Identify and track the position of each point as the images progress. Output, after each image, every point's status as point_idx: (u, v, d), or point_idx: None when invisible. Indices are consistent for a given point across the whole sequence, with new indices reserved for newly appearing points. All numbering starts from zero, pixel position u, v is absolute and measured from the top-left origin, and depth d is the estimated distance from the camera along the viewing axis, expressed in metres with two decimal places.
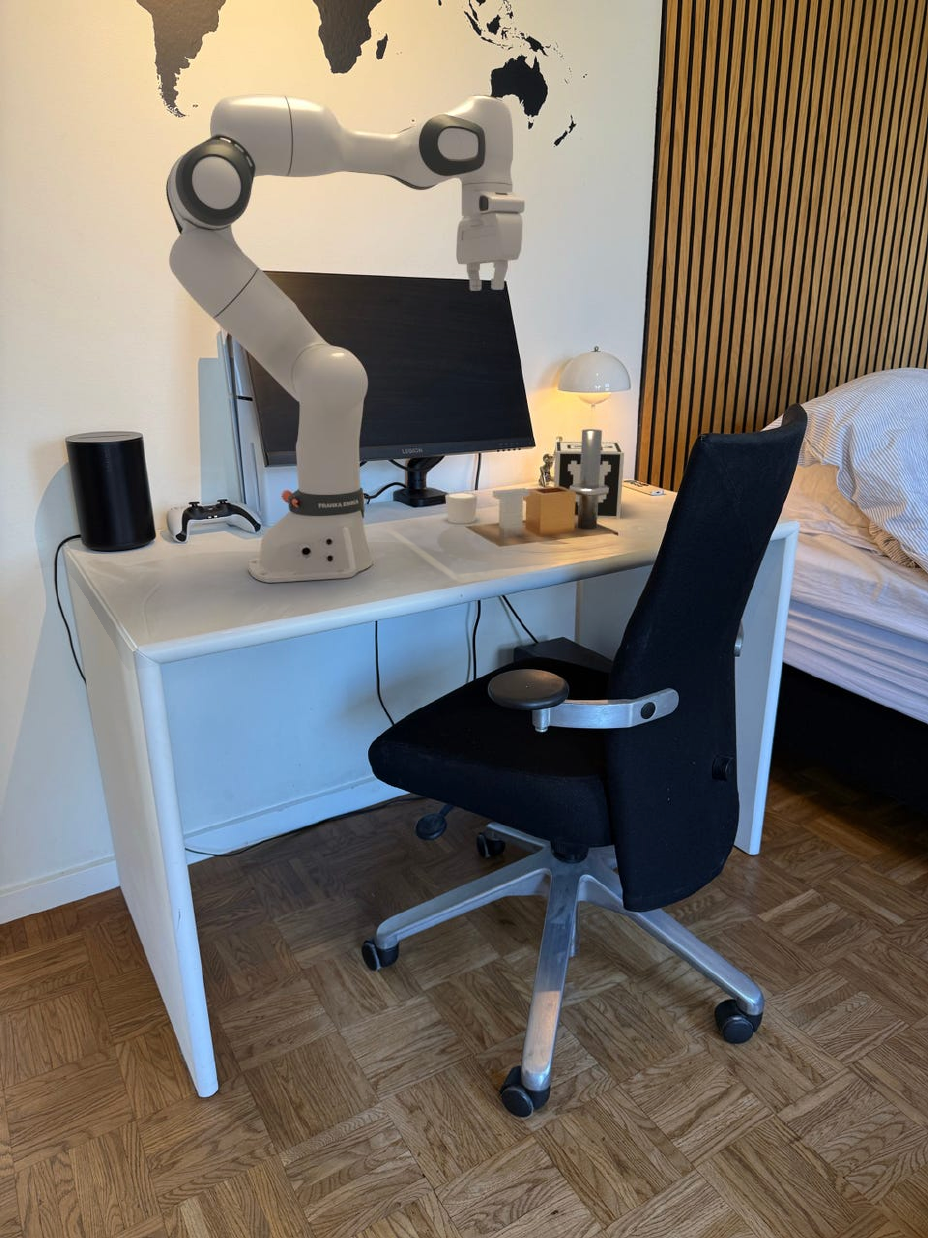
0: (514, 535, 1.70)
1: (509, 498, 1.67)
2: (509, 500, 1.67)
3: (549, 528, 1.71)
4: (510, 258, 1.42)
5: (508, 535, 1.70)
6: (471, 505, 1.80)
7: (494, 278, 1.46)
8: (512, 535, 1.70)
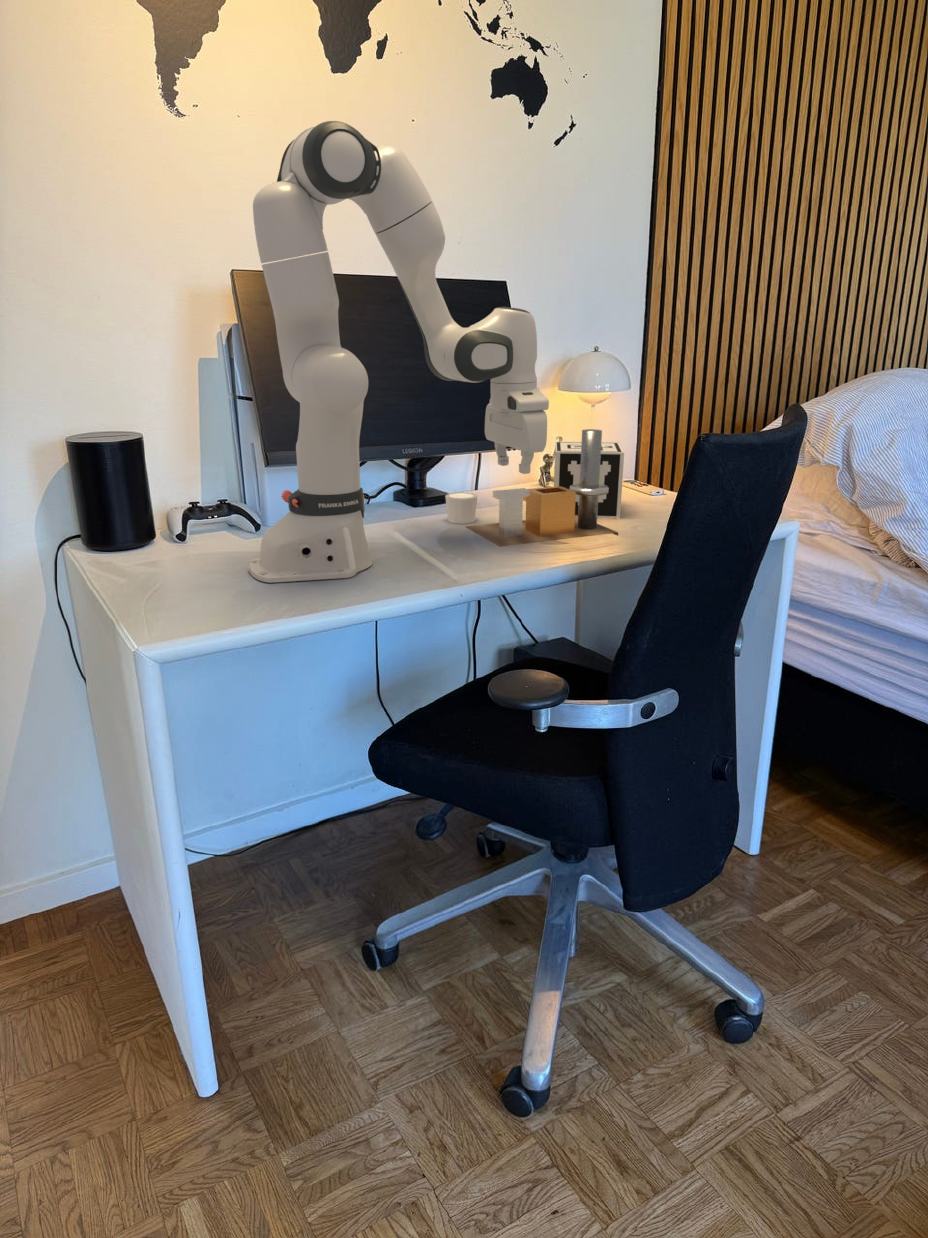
0: (514, 535, 1.70)
1: (509, 498, 1.67)
2: (509, 500, 1.67)
3: (549, 528, 1.71)
4: (536, 451, 1.57)
5: (508, 535, 1.70)
6: (471, 505, 1.80)
7: (521, 464, 1.61)
8: (512, 535, 1.70)
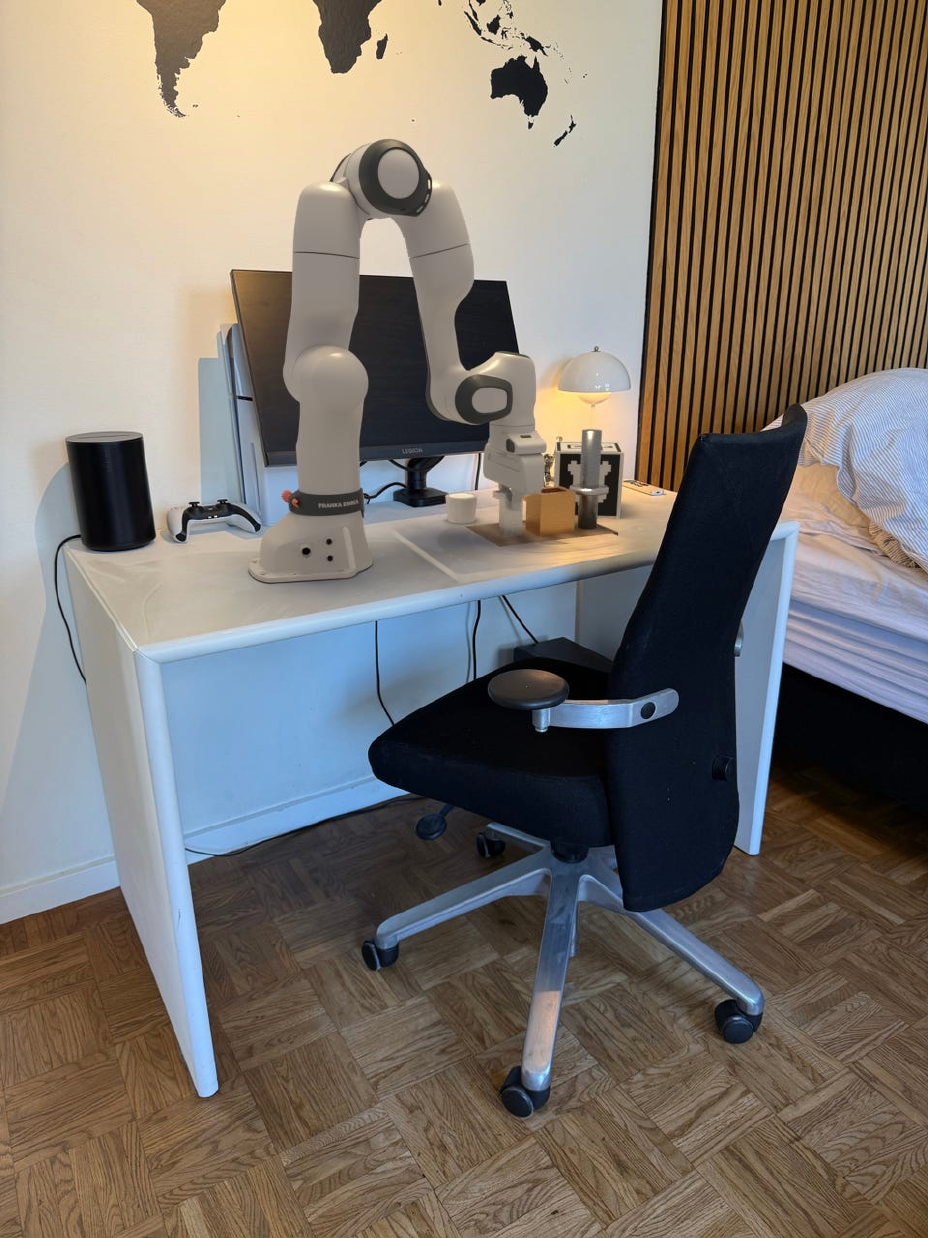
0: (514, 535, 1.70)
1: (509, 498, 1.67)
2: (509, 500, 1.67)
3: (549, 528, 1.71)
4: (533, 493, 1.59)
5: (508, 535, 1.70)
6: (471, 505, 1.80)
7: (512, 502, 1.66)
8: (512, 535, 1.70)
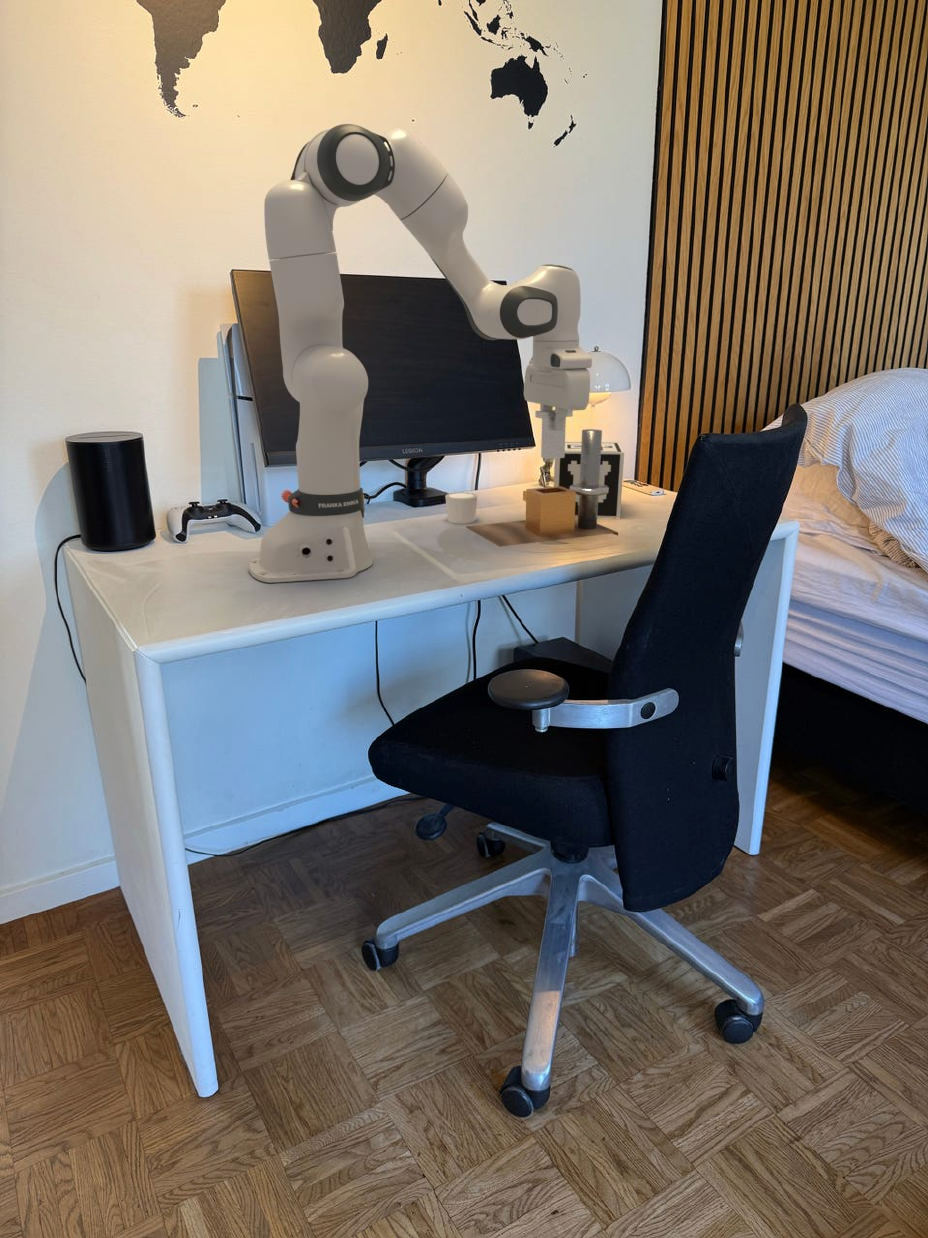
0: (557, 456, 1.68)
1: (552, 417, 1.65)
2: (553, 420, 1.65)
3: (549, 528, 1.71)
4: (579, 409, 1.57)
5: (551, 456, 1.68)
6: (471, 505, 1.80)
7: (555, 421, 1.64)
8: (555, 456, 1.68)
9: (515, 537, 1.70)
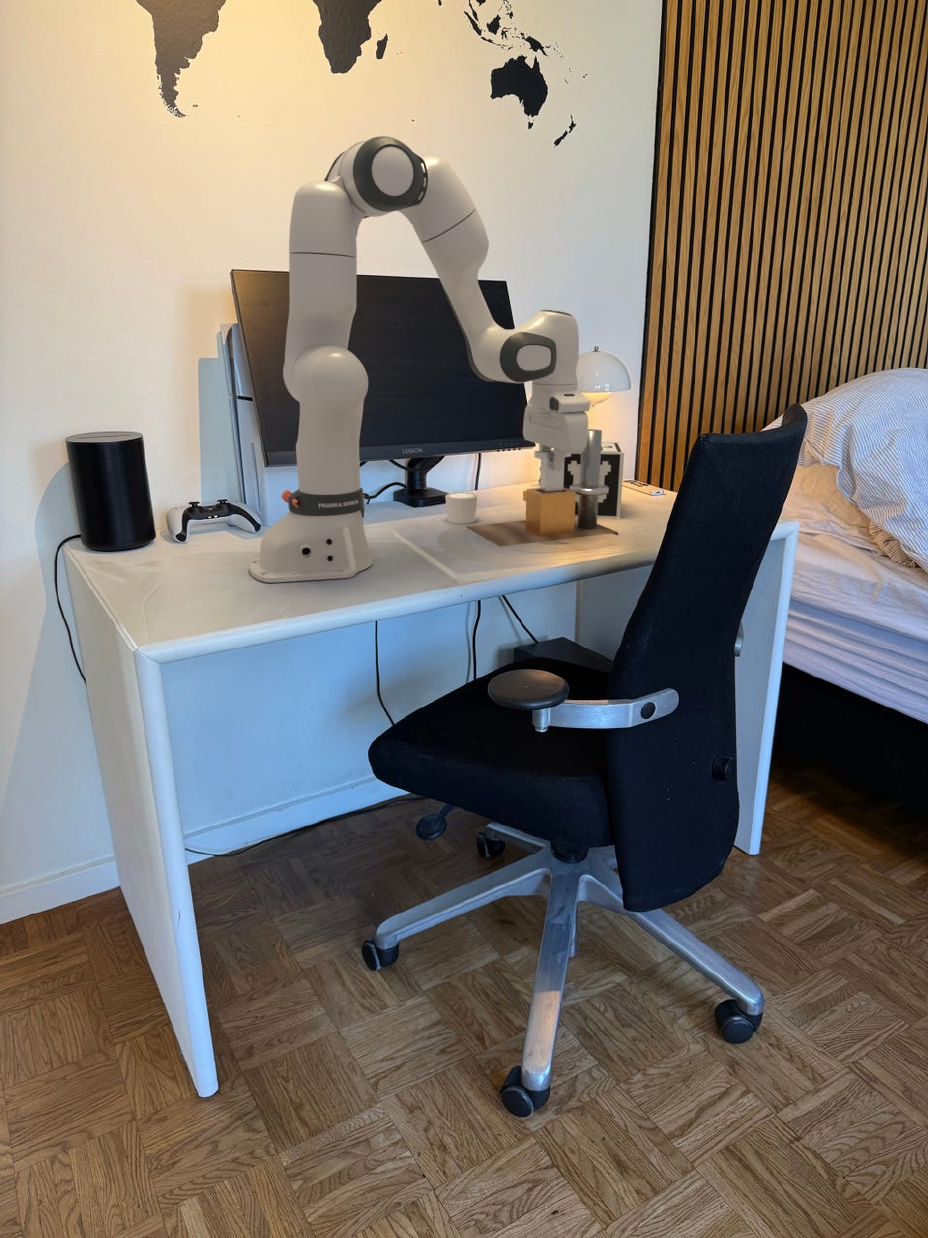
0: None
1: (551, 457, 1.68)
2: (551, 460, 1.68)
3: (549, 528, 1.71)
4: (577, 451, 1.60)
5: None
6: (471, 505, 1.80)
7: (554, 462, 1.67)
8: None
9: (515, 537, 1.70)
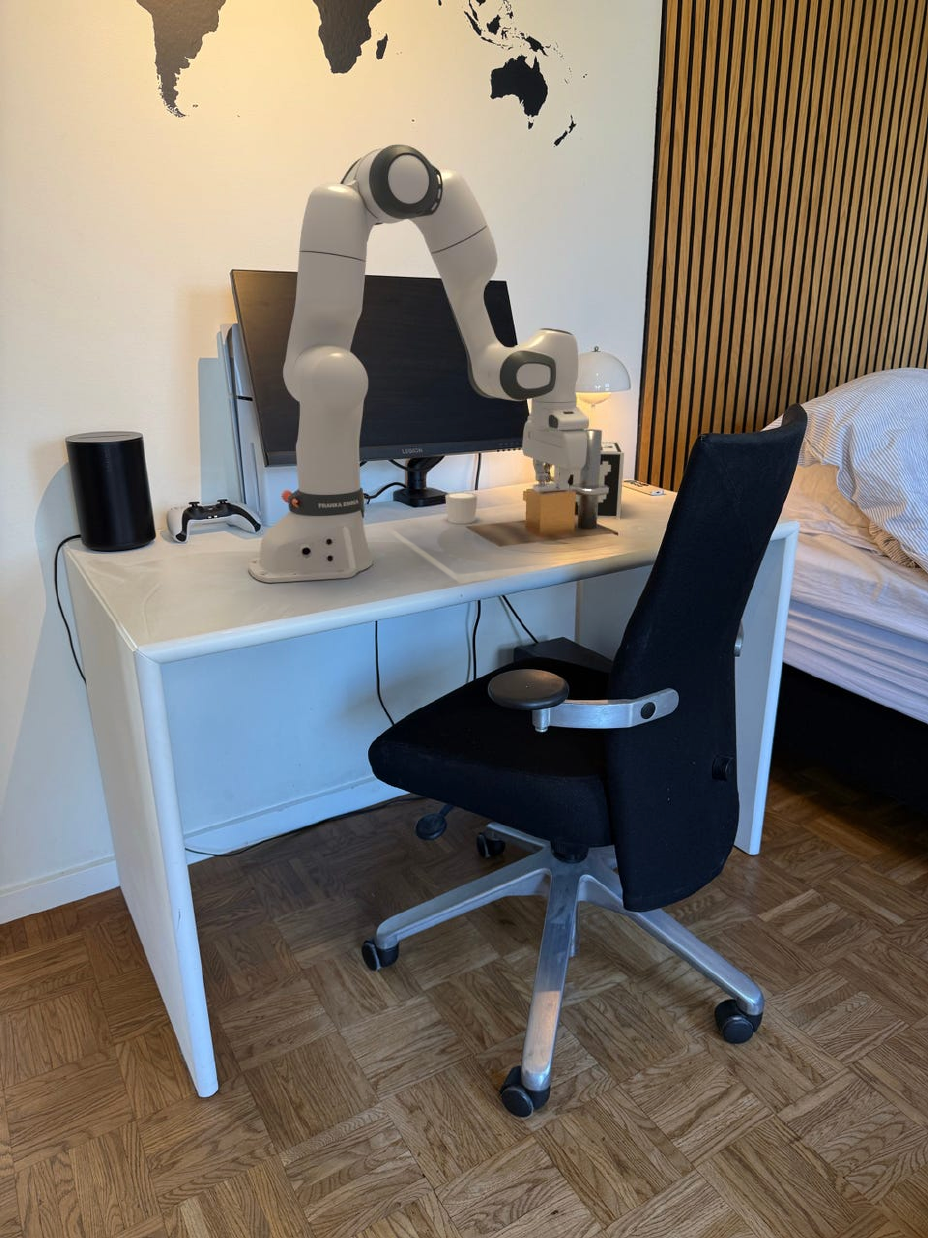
0: None
1: (549, 491, 1.70)
2: None
3: (549, 528, 1.71)
4: (576, 469, 1.61)
5: None
6: (471, 505, 1.80)
7: (559, 481, 1.66)
8: None
9: (515, 537, 1.70)
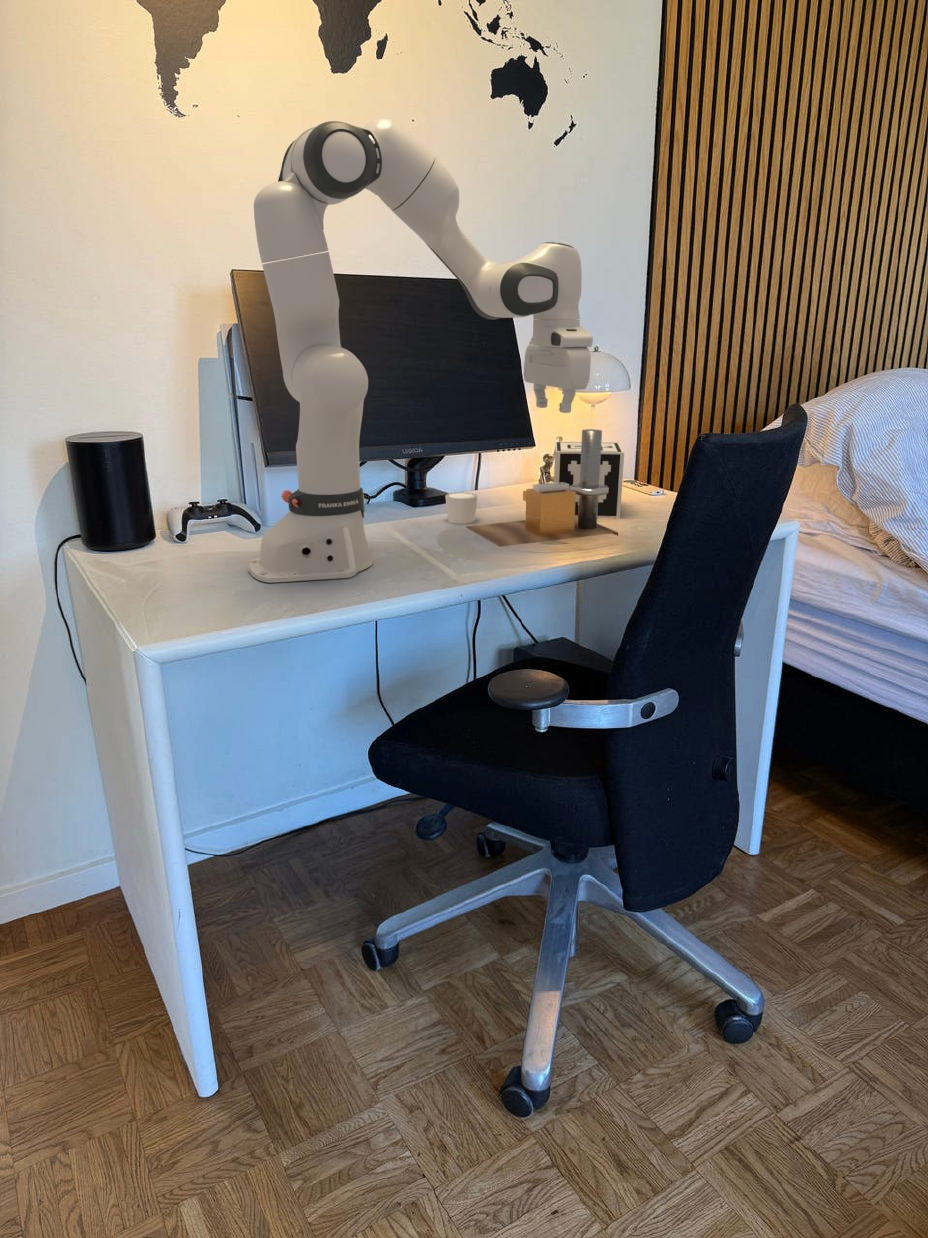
0: None
1: (549, 491, 1.70)
2: None
3: (549, 528, 1.71)
4: (579, 388, 1.56)
5: None
6: (471, 505, 1.80)
7: (562, 403, 1.60)
8: None
9: (515, 537, 1.70)
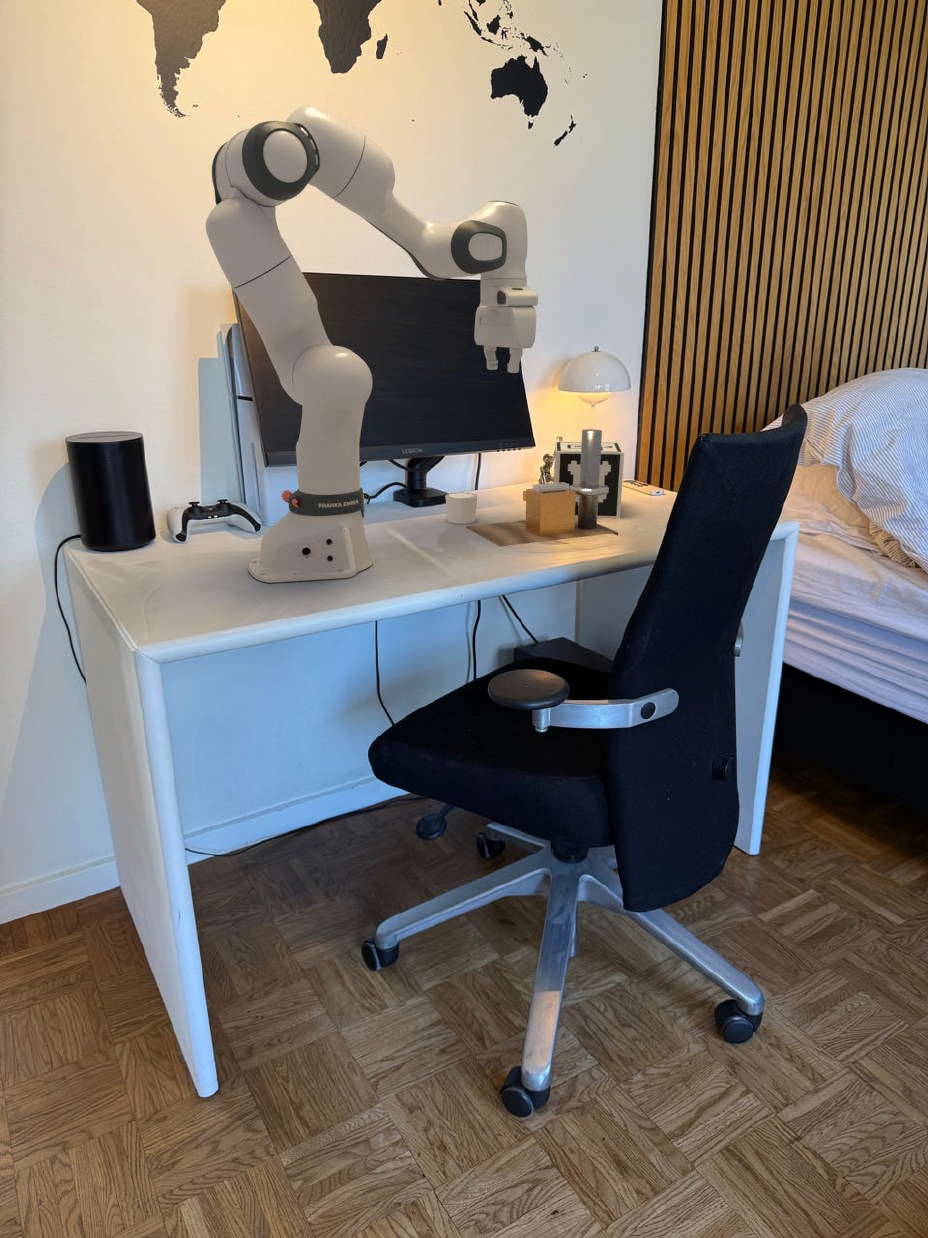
0: None
1: (549, 491, 1.70)
2: None
3: (549, 528, 1.71)
4: (525, 347, 1.57)
5: None
6: (471, 505, 1.80)
7: (510, 363, 1.61)
8: None
9: (515, 537, 1.70)
